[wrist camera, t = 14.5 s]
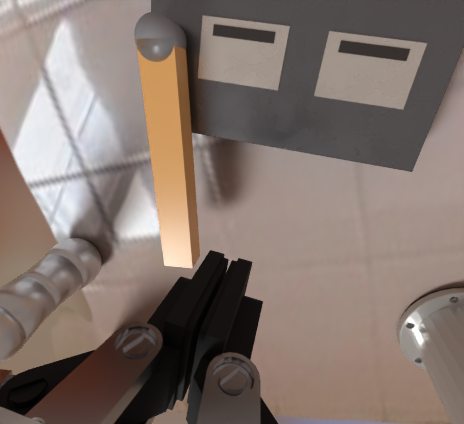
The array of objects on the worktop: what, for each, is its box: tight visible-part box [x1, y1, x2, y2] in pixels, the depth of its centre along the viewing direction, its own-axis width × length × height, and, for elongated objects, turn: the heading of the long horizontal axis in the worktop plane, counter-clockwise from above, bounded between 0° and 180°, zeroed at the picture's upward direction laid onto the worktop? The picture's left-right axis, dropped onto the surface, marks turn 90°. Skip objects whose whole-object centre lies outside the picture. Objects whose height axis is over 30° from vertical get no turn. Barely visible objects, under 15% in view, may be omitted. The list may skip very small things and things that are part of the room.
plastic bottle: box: [0, 238, 101, 363], centre depth 32 cm, size 6×7×20 cm
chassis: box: [151, 0, 464, 172], centre depth 25 cm, size 24×14×5 cm, turn 82°
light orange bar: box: [134, 12, 200, 268], centre depth 26 cm, size 22×3×2 cm, turn 1°
